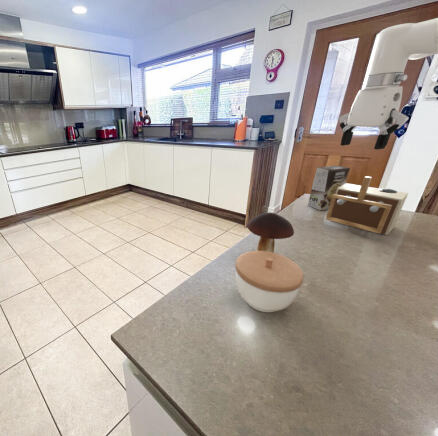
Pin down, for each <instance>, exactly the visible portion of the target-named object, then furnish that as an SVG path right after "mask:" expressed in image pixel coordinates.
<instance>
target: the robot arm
mask: <svg viewBox="0 0 438 436" xmlns="http://www.w3.org/2000/svg"><path fill="white" fill-rule="evenodd" d="M434 55H438V17H435V18H431V19H427V20H424V21H420V22H407V23H401V24H396V25H392V26H388V27H386V28H384V29H382V30H381V31H379V32H378V34H377V36H376V39H375V42H374V45H373V49H372V52H371V56H370V59H369V62H368V65H367V70H366V73H365V77H364V80H363V84H362V87H361V89H359V90H358V92H357V94H356V96H355V98H354V101H353V102H352V105H351V108H350V111H349V112H347V113H345V114H343V115H341V116H339V118H338V120H339V127H340V128H341V132H342V136H341V139H340V146H343V147H344V146H349V145H351V143H352V139H353V136H354V131H353V130H354V129H356V128H357V127H359V128H360V127H362V128H365V127H367V128H378V131H380V134H378V135H377V138H376V141H375V144H374V146H373V150H378V151H379V150H384V149H385V148H386V147H387V145H388V143H389V140H390V137H391V135H393V134H394V133H395V132H396V131H398V130H400V129H401V128H402V126H403V125H404V124H405V123H406V122H407V121H408V120H409V116H407V115H406V114H404V113H402V112H400V107H401V103H402V99H403V90H404V89H403V87H404V86H403V85H400V84H401V83H402V82H403V81H406V80H407V78H408V74H405V70H406V67H407V64H408V60H412V61H413V60H420V59H423V58H427V57H432V56H434Z"/></svg>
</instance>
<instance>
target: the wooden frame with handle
mask: <svg viewBox="0 0 438 436" xmlns="http://www.w3.org/2000/svg"><path fill="white" fill-rule="evenodd" d="M372 178H373V177H372V176H369V175H368V176H367V175H366V176H364V177H363V180H362V183H361V185H360V186H361V189H360V192H359V195H358V198H353V197H347V196H342V195H337V194H333V196H332V199H331V202H330V206H329V209H327V213H326V217H325V220H326V221H331V222H333V223H338V224H341V225H345V226H349V227H353V228H356V229H360V230H364V231H368V232H371V233H376V234H381V231H382V229H383V226H384V224H385V221H386V219H387V217H388V214H389V212H390V209H391V207H392V205H389V204H384V203H379V202H373V201H368V200H364V198H365V195H366V193H367V190H368V187H370V184H371V181H372ZM336 198H338V199H343V200H348V201H352V202H357V203H362V204H367V205H372V206H377V207H382V208H385V210H384V213H383V215H382V218H381V220H380V223H379V225H378V228H377V229H376V228H373V227H369V226H365V225H361V224H357V223H353V222H349V221H345V220H341V219H337V218H333V217H331V214H332V211H333V208H334V204H335V201H336Z"/></svg>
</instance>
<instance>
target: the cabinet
mask: <svg viewBox="0 0 438 436" xmlns="http://www.w3.org/2000/svg"><path fill="white" fill-rule="evenodd" d="M361 186H362V185H360V184H354V183H347V182H346V183H345V184H343V185H342V186H340V187H338V188H337V191H336V194H337V195H342V196H347V197H353V198H358V195H359V192H360V189H361ZM378 189H380V188H378V187H372V186H369V187H368V190H367V193H366V195H365V198H364V200H368V201H373V202H379V203H384V204H389V205H392V207H391V209H390V212H389V214H388V217H387V219H386V221H385V224H384V226H383V229H382V231H381V233H380V234H381V235H386V236H388V235H389V233H390V232H391V231H392V230H393V229H394V227H395V225H396V223H397V220H398V219H399V216H400V213H401V211H402V209H403V206H404V204H405V202H406V200H407V198H408V195H409V192H403V191H397V190H396V191H397V193H385V192H381V191H378ZM384 210H385V208H382V207H377V206H372V205H367V204H362V203H357V202H352V201H348V200H343V199H338V198H336V201H335V204H334V208H333V211H332V214H331V217H333V218H337V219H341V220H345V221H349V222H353V223H357V224H361V225H365V226H369V227H373V228H376V229H377V228H378V225H379V223H380V220H381V218H382V215H383V213H384Z"/></svg>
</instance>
